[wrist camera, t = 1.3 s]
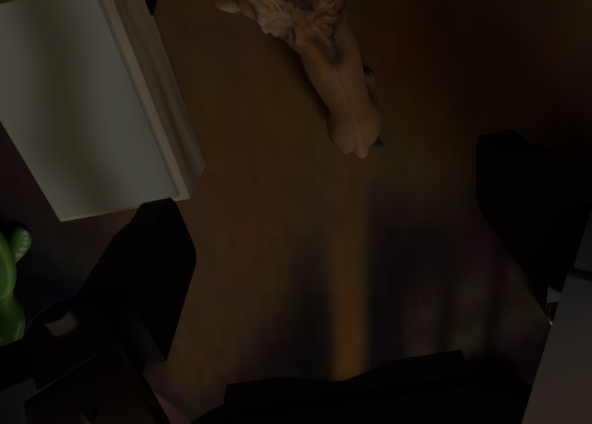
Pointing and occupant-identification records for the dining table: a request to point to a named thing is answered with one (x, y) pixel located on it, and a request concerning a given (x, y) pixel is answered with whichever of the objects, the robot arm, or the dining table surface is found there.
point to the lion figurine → (324, 63)
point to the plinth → (94, 105)
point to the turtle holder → (11, 285)
